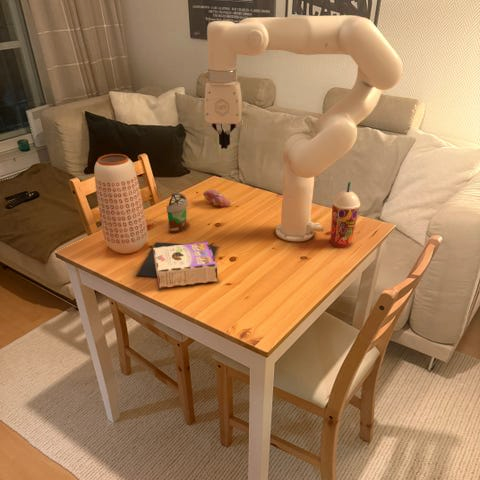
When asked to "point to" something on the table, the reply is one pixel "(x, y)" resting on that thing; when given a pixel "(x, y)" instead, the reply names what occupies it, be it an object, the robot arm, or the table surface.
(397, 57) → the robot arm
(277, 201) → the table surface
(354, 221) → the smoothie
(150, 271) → the placemat
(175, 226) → the food container
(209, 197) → the sweet potato
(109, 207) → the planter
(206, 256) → the candy box
